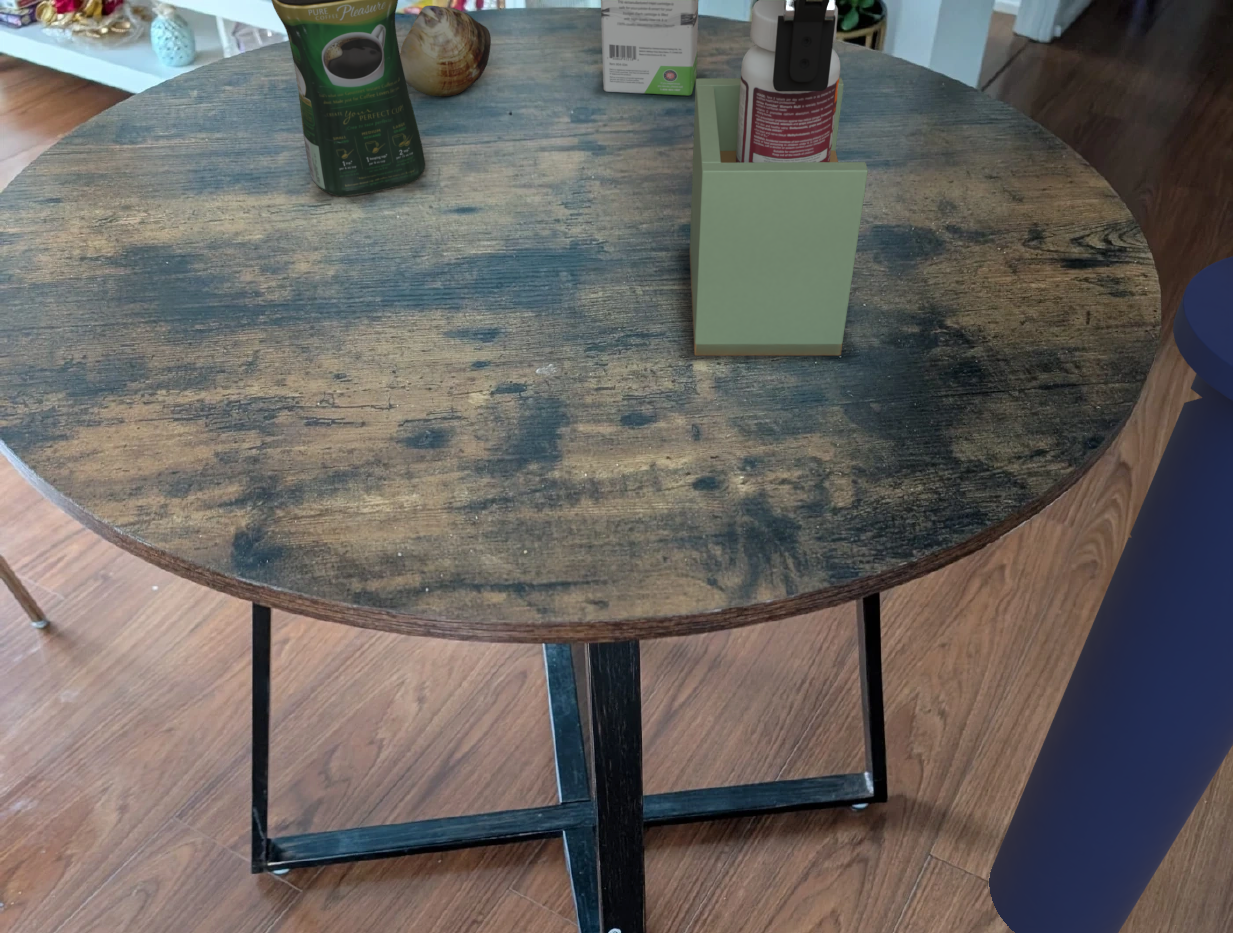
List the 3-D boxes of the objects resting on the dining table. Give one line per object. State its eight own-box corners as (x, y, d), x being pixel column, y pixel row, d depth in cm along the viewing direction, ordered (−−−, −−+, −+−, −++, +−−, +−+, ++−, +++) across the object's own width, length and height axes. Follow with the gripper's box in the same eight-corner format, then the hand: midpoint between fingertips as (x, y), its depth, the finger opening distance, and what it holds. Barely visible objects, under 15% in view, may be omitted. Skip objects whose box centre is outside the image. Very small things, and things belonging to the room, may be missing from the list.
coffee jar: (411, 147, 102) (376, -93, 89) (435, 185, 97) (402, -63, 84) (302, 167, 100) (249, -77, 86) (321, 207, 95) (268, -45, 81)
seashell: (421, 117, 107) (409, 24, 101) (391, 97, 110) (377, 6, 104) (508, 91, 110) (501, 0, 105) (476, 72, 114) (467, -17, 108)
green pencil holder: (820, 252, 89) (841, 77, 79) (840, 355, 79) (868, 170, 70) (689, 252, 89) (695, 77, 80) (694, 355, 79) (702, 170, 70)
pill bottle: (844, 196, 77) (869, 13, 69) (766, 218, 75) (783, 33, 67) (791, 160, 81) (808, -18, 73) (716, 180, 79) (725, 0, 71)
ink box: (697, 76, 112) (702, -60, 104) (691, 97, 109) (695, -42, 100) (610, 71, 113) (608, -64, 105) (601, 92, 110) (598, -46, 101)
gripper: (925, -260, 53) (871, 115, 66) (875, -322, 65) (837, 6, 78) (762, -258, 54) (739, 116, 66) (741, -320, 65) (725, 7, 78)
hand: (792, 56), depth 72 cm, fingers open, 9 cm apart
